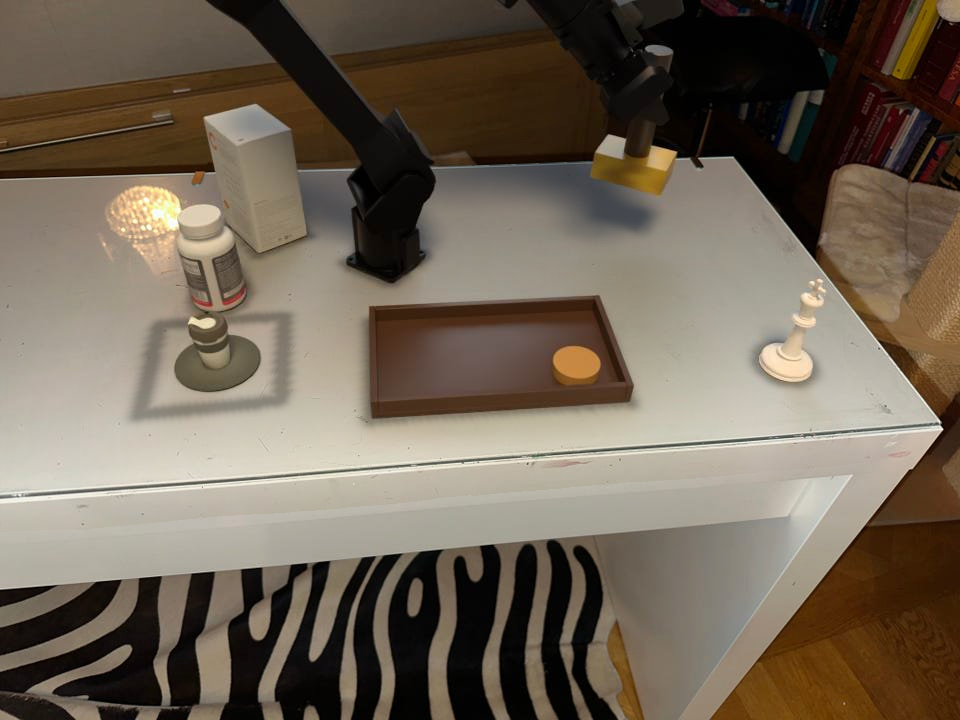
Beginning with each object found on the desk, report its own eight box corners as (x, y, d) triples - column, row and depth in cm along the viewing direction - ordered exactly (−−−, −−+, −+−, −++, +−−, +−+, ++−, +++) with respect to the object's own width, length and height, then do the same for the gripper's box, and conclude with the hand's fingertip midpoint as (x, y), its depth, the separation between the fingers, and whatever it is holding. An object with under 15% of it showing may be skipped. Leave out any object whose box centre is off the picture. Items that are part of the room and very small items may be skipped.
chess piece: (784, 388, 70) (821, 304, 63) (747, 356, 73) (778, 272, 66) (822, 372, 72) (862, 289, 65) (785, 342, 75) (819, 259, 68)
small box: (308, 236, 86) (293, 128, 77) (258, 255, 83) (235, 145, 74) (274, 206, 91) (256, 101, 82) (225, 223, 87) (200, 116, 79)
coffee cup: (280, 400, 67) (272, 359, 63) (139, 413, 65) (122, 372, 62) (284, 315, 75) (276, 275, 72) (159, 325, 74) (145, 284, 70)
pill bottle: (243, 277, 80) (225, 196, 73) (250, 307, 76) (231, 225, 70) (190, 287, 78) (167, 204, 72) (194, 318, 75) (170, 234, 68)
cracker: (542, 373, 70) (543, 363, 69) (568, 348, 72) (569, 339, 71) (582, 394, 68) (584, 385, 67) (607, 368, 70) (609, 359, 69)
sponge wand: (590, 177, 83) (613, 49, 74) (603, 158, 87) (627, 33, 77) (660, 196, 81) (693, 67, 72) (671, 176, 85) (704, 50, 75)
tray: (372, 418, 65) (370, 401, 64) (370, 322, 75) (368, 305, 74) (630, 402, 68) (634, 385, 67) (596, 310, 78) (599, 294, 76)
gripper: (673, -32, 60) (762, 100, 69) (615, -87, 74) (696, 28, 83) (566, 66, 65) (662, 178, 74) (530, -3, 79) (615, 98, 87)
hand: (661, 115), depth 79 cm, fingers closed on sponge wand, 3 cm apart
